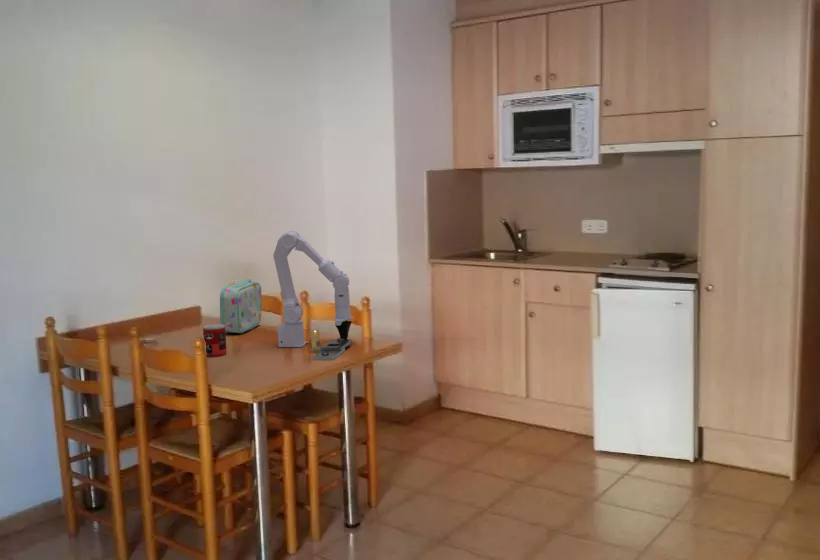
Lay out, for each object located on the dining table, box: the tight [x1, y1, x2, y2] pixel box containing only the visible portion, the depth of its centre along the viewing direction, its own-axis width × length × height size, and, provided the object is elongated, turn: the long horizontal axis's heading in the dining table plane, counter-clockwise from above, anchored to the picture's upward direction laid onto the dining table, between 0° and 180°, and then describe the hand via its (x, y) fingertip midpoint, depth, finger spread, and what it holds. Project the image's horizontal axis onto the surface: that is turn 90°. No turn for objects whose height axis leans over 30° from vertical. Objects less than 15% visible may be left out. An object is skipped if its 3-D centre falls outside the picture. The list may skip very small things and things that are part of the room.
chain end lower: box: [311, 347, 346, 361], centre depth 295 cm, size 8×14×2 cm, turn 168°
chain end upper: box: [320, 337, 353, 351], centre depth 304 cm, size 8×14×2 cm, turn 168°
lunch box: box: [219, 278, 263, 334], centre depth 350 cm, size 27×10×21 cm, turn 169°
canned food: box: [202, 323, 228, 358], centre depth 303 cm, size 8×8×11 cm
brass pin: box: [310, 329, 321, 353], centre depth 302 cm, size 3×3×8 cm
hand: (344, 340), depth 314 cm, fingers closed
